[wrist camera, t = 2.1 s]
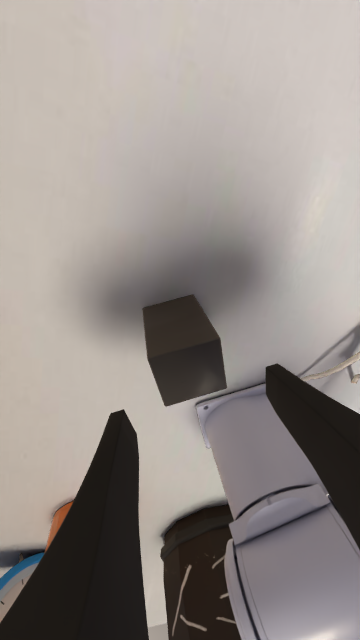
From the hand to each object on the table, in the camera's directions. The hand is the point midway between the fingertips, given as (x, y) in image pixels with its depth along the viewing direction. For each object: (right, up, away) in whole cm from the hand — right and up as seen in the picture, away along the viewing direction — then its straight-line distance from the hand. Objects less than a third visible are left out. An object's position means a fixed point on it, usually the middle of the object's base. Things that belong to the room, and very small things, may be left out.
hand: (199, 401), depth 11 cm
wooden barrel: (+4, -33, +29) cm, 44 cm away
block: (-1, +4, +7) cm, 8 cm away
